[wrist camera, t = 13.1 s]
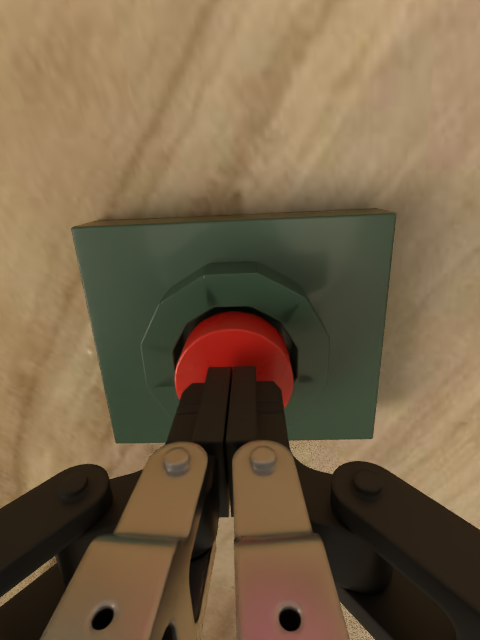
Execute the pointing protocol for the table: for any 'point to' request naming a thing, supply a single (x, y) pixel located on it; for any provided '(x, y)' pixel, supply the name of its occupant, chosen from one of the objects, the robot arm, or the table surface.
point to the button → (235, 351)
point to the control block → (241, 308)
